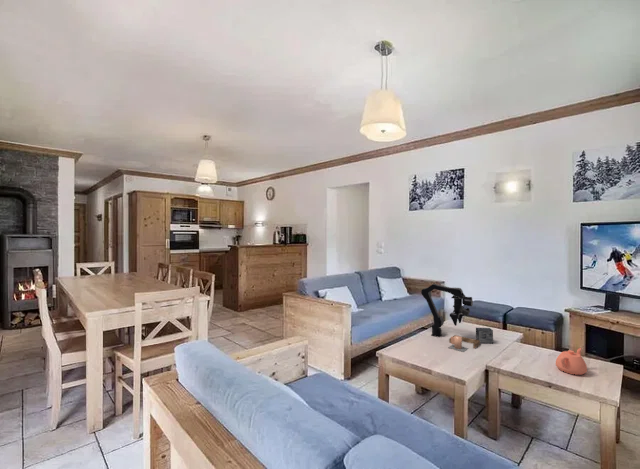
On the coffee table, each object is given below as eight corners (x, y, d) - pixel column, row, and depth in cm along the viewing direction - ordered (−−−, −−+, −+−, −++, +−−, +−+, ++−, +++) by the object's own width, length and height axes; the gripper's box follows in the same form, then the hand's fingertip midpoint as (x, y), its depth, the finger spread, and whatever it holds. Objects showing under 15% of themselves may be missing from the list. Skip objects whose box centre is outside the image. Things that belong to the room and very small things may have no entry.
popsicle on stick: (460, 349, 228) (460, 338, 228) (449, 347, 233) (449, 336, 233) (462, 347, 232) (462, 336, 232) (452, 345, 237) (452, 334, 237)
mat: (448, 348, 232) (448, 347, 232) (452, 344, 239) (452, 344, 239) (463, 352, 225) (463, 351, 225) (468, 348, 231) (468, 348, 231)
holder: (449, 342, 243) (449, 338, 243) (454, 338, 252) (454, 335, 251) (474, 348, 231) (474, 344, 231) (479, 344, 239) (479, 340, 239)
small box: (489, 341, 247) (489, 327, 247) (493, 344, 240) (493, 330, 240) (475, 340, 248) (475, 327, 248) (478, 343, 241) (478, 329, 241)
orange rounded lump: (566, 362, 207) (567, 343, 207) (595, 371, 194) (595, 351, 194) (548, 369, 197) (548, 349, 197) (576, 379, 184) (577, 358, 184)
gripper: (464, 308, 237) (464, 329, 237) (472, 304, 251) (472, 323, 251) (449, 305, 245) (449, 326, 245) (458, 301, 258) (458, 321, 259)
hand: (457, 324), depth 250 cm, fingers open, 9 cm apart
